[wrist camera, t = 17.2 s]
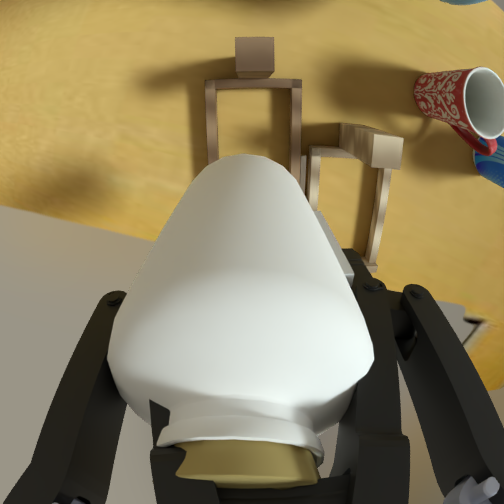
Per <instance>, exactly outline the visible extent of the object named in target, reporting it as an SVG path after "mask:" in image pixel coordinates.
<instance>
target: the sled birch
mask: <svg viewBox="0 0 504 504" xmlns="http://www.w3.org/2000/svg"><path fill="white" fill-rule="evenodd" d="M403 139H404V138H402V137H399V136H396V135H393V134H390V133H387V132H384V131H381V130H378V129H375V128H371V127H368V126H365V125H358V124H348V123H340V133H339V147H337V146H319V145H309V161H308V182H307V201H308V203H309V204H310V206H311V208H312V210H313V211H317V205H318V191H319V176H320V158H321V157H338V158H354V159H359V160H361V161H362V162H364V163H366V164H367V165H369V166H370V167H375V168H379V170H378V179H377V187H376V194H375V201H374V208H373V215H372V221H371V227H370V233H369V238H368V244H367V249H366V254H365V257H361V259H362V260H363V262H364V264H365V265H366V267H367V269H368V270H369V272H370V273H373V272H376V271H377V267H378V266H377V264H376V258H377V254H378V249H379V244H380V239H381V234H382V229H383V223H384V218H385V212H386V206H387V200H388V193H389V186H390V179H391V171H392V169H397V170H400V166H401V158H402V149H403Z"/></svg>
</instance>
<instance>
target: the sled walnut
mask: <svg viewBox="0 0 504 504" xmlns="http://www.w3.org/2000/svg"><path fill="white" fill-rule="evenodd" d="M235 59H236V73H237V75H238V77H239V79H218V80H205V102H206V127H207V149H208V165H209V164H211V163H213V162H215V161H217V160H219V151H218V126H217V94H216V89H230V88H290V149H289V173H290V174H291V175H292V176H293V177H294V178H295V179H296V180H297V182H298V184H299V183H300V156H301V116H302V80H301V79H276V78H269V77H270V76H271V74H272V73H273V72H274V37H235Z"/></svg>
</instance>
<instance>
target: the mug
mask: <svg viewBox="0 0 504 504" xmlns="http://www.w3.org/2000/svg"><path fill="white" fill-rule="evenodd" d="M414 97H415V101H416V104H417V105H418V107H419V109H420V110H421V111H422V112H423V113H424V114H425V115H427V116H429V117H431V118H434V119H437V120H441V121H444V122H447V123H448V124H449V125H450V126H451V127H452V128H453V129H454V130H455V131H456V132H457V134H458V135H459V136H460V137H461V138H462V139H463V140H464V141H465V142H466V143H467V144H468V145H469V146H471V147H472V148H473V149H474V150H475V151H477V152H478V153H480V154H482V155H484V156H490V155H492V154H493V153H494V152H495V151H496V150H497V141H496V139H495V138H497V137H498V136H500V135H501V134H502V133H503V131H504V84H503V83H502V81H501V79H500V78H499V77H498V76H497V74H496V73H494V72H493V71H492V70H490V69H488V68H486V67H476V68H474V69H462V70H453V71H443V72H435V73H427V74H424V75H422V76H420V77H419V78H418V79H417V81H416V83H415V86H414ZM469 131H471V132H474V133H476V134H478V135H479V136H480V137H482V138H483V139H484V140H485V141H486V143H487V145H488V147H487V146H485V145H483V144H482V143H481V142H479V141H478V140H477V139H476V138H475V137H474V136H473V135H472V134H471V133H470V132H469Z"/></svg>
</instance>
